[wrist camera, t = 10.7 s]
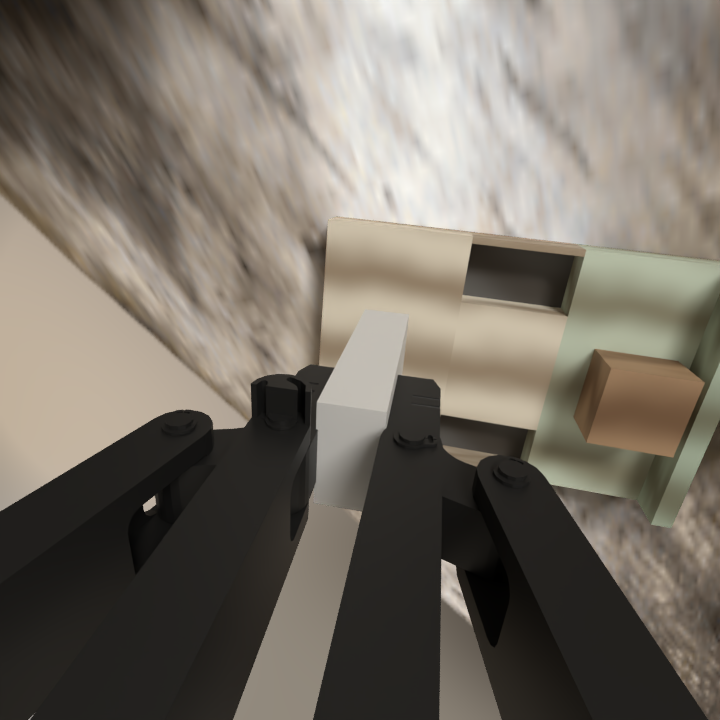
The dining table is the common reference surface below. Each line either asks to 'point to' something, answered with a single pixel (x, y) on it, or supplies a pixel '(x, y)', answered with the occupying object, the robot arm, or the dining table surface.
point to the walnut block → (636, 402)
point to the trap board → (532, 342)
